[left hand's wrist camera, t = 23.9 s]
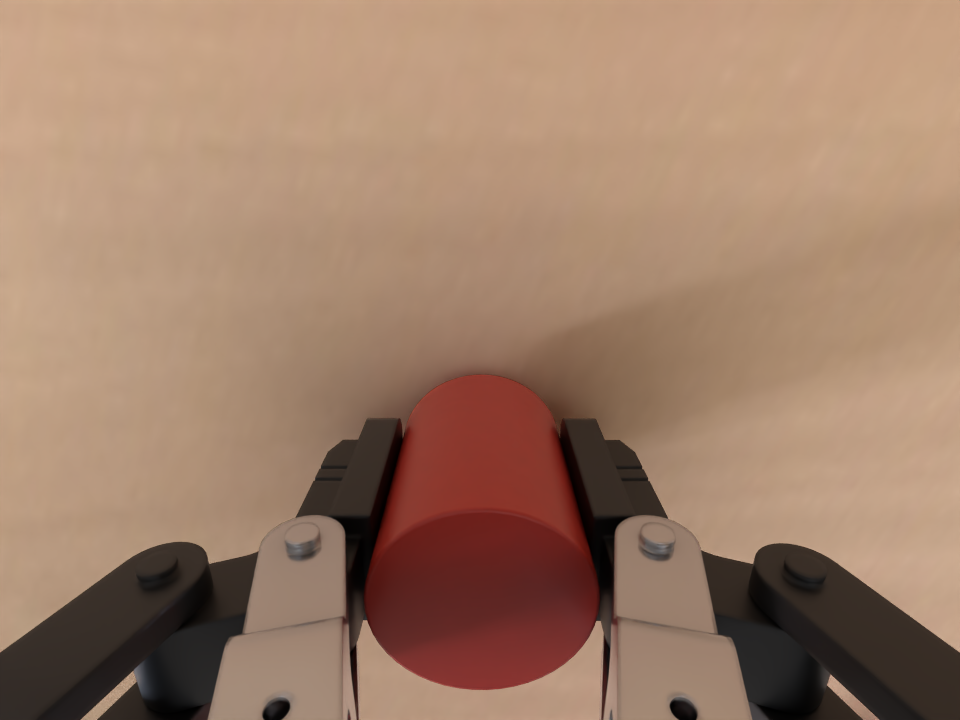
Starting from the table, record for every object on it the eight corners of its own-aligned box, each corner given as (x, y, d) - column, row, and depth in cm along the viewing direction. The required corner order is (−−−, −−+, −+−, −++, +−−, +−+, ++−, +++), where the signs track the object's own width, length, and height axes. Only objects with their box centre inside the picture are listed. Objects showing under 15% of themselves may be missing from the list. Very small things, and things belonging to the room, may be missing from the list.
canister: (406, 367, 12) (363, 500, 8) (568, 379, 12) (620, 518, 8) (402, 502, 14) (361, 685, 9) (547, 512, 14) (581, 697, 9)
